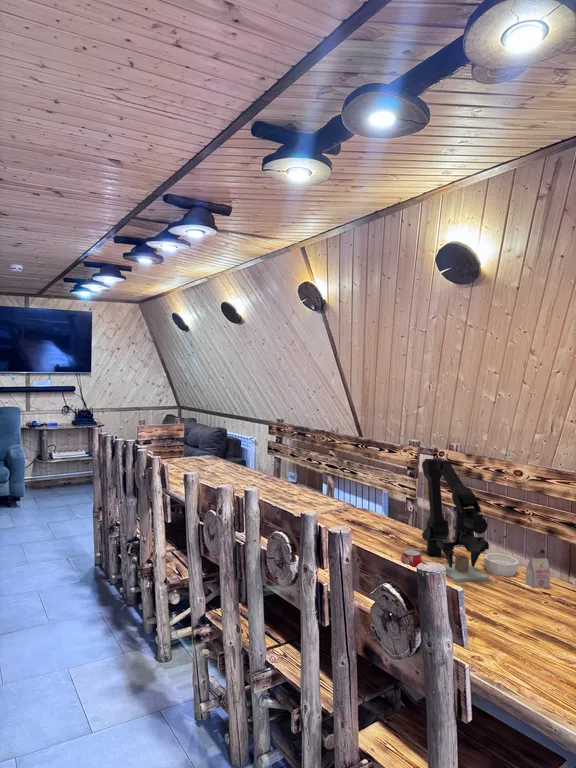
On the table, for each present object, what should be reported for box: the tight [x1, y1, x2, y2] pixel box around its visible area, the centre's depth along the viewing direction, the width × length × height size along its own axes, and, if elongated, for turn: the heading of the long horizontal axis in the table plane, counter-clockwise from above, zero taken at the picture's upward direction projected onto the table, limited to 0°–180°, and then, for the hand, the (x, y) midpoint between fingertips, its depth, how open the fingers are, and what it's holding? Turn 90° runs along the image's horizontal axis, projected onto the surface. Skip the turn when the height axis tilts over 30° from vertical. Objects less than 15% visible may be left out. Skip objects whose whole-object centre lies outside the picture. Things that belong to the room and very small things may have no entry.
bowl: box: [483, 552, 520, 577], centre depth 194 cm, size 12×12×5 cm
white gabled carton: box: [525, 558, 551, 590], centre depth 182 cm, size 4×7×10 cm, turn 99°
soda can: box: [400, 548, 423, 567], centre depth 177 cm, size 7×7×12 cm
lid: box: [442, 555, 489, 582], centre depth 191 cm, size 14×14×6 cm
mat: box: [446, 575, 492, 584], centre depth 191 cm, size 17×14×1 cm
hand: (461, 566), depth 191 cm, fingers open, 9 cm apart
